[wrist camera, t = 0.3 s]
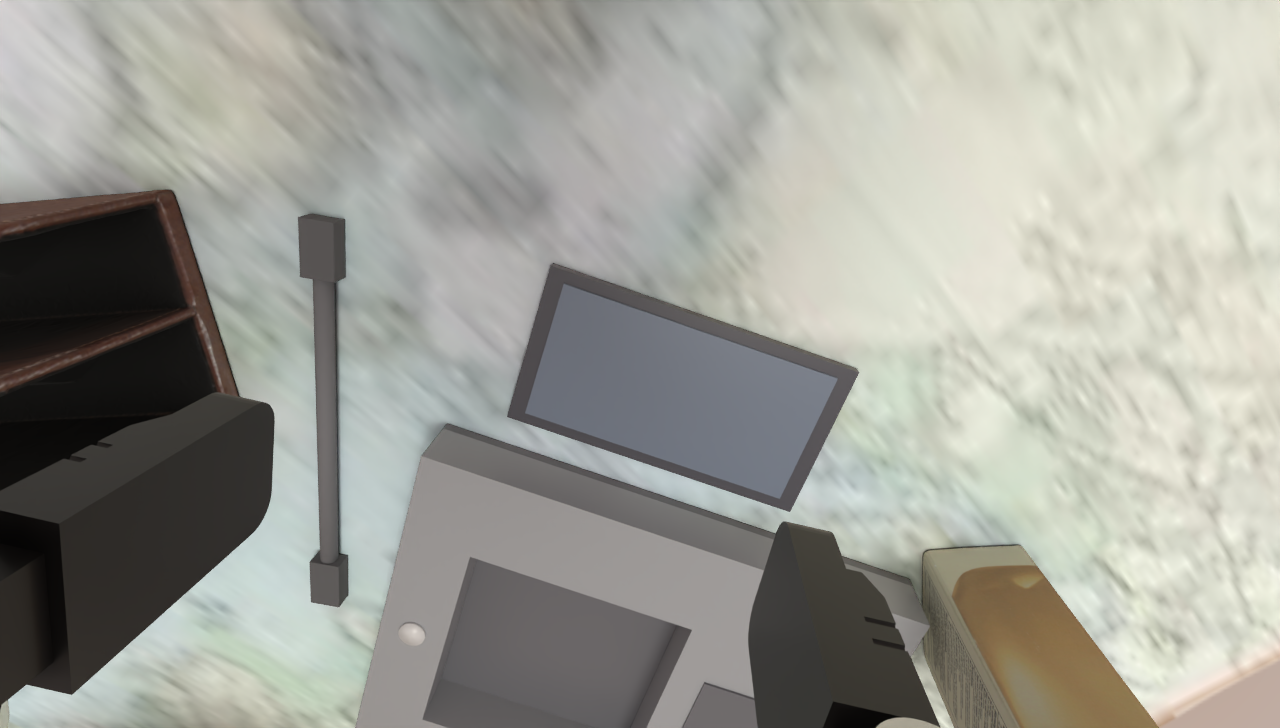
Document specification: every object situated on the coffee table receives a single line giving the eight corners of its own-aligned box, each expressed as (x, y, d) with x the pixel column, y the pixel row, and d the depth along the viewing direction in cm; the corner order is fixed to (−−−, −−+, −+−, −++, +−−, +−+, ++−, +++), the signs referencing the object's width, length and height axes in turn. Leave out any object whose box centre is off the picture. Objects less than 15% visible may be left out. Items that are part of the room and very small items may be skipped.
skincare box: (1017, 652, 32) (1195, 955, 20) (921, 656, 32) (1042, 955, 21) (1023, 536, 30) (1227, 803, 18) (920, 543, 30) (1055, 807, 19)
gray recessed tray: (447, 423, 30) (419, 457, 27) (909, 579, 31) (931, 628, 28) (375, 706, 36) (346, 759, 34) (759, 829, 37) (764, 890, 34)
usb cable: (310, 213, 27) (298, 217, 26) (344, 219, 27) (333, 223, 26) (320, 589, 34) (311, 602, 33) (347, 594, 34) (339, 607, 33)
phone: (555, 260, 28) (550, 266, 27) (853, 363, 28) (859, 373, 27) (513, 407, 30) (506, 417, 29) (787, 499, 31) (790, 513, 30)
